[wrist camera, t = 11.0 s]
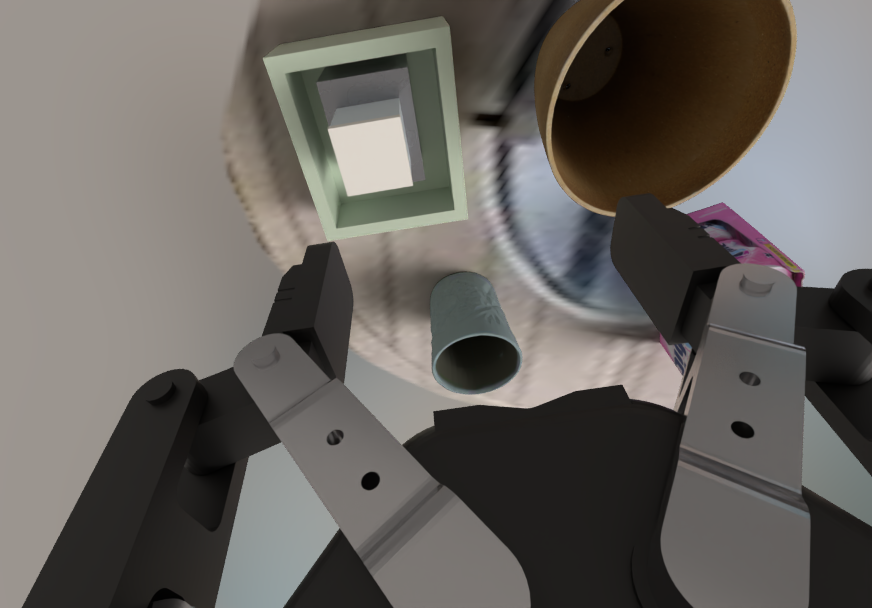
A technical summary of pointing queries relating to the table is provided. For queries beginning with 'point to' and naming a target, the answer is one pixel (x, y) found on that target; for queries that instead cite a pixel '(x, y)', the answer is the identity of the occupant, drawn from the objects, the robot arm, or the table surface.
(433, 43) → the tote
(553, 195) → the table surface
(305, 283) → the robot arm
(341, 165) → the off-white carton
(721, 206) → the gum box
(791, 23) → the plant pot
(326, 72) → the tin block
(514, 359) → the teal cup
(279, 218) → the table surface
